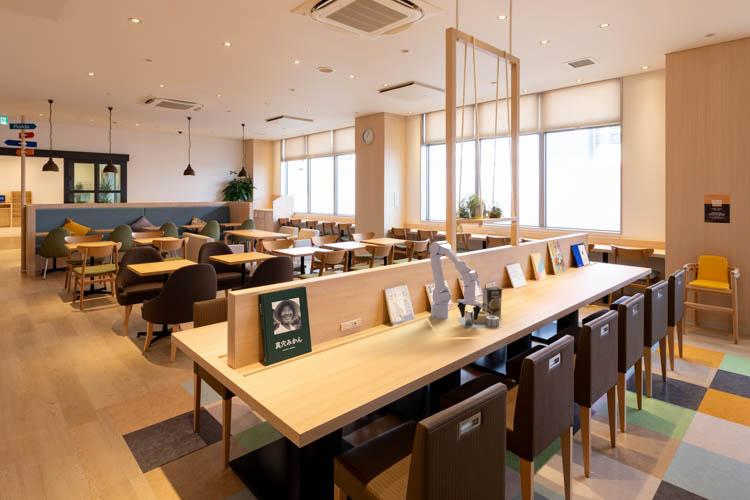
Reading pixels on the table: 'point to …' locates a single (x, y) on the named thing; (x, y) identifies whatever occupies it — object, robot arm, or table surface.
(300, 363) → the table surface
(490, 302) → the coffee box
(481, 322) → the fitting board
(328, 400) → the table surface
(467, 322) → the metal cylinder
